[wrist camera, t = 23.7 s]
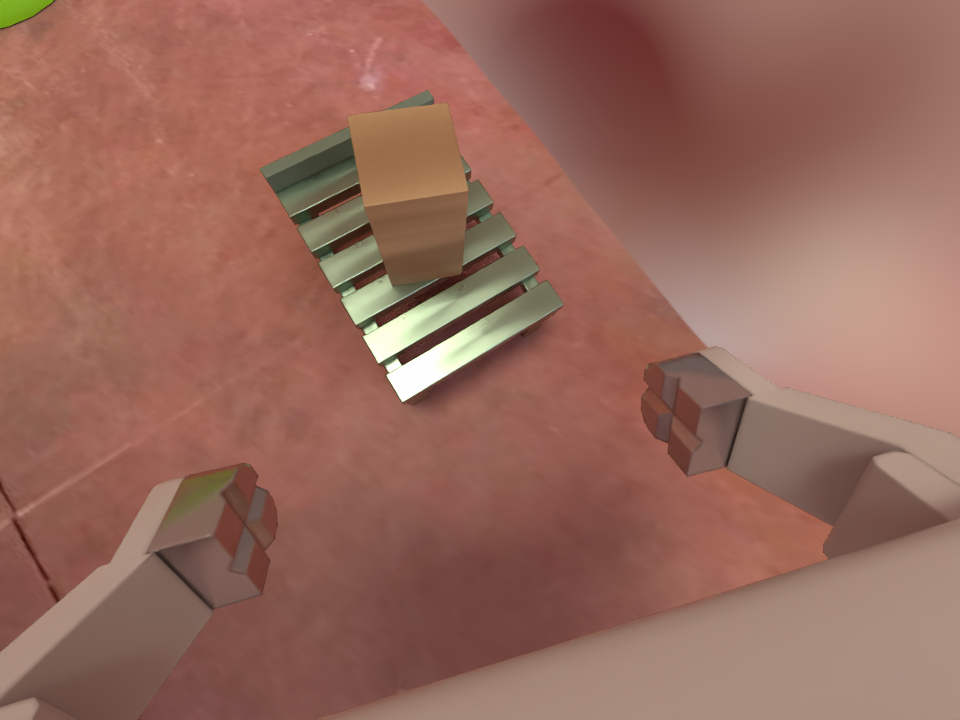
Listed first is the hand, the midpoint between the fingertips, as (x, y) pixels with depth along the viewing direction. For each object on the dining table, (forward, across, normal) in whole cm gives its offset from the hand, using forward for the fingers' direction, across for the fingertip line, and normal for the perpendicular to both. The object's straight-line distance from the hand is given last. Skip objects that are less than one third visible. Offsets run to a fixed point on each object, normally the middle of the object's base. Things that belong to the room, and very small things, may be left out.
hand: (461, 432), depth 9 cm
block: (+20, 0, +3) cm, 20 cm away
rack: (+25, 0, +7) cm, 26 cm away
